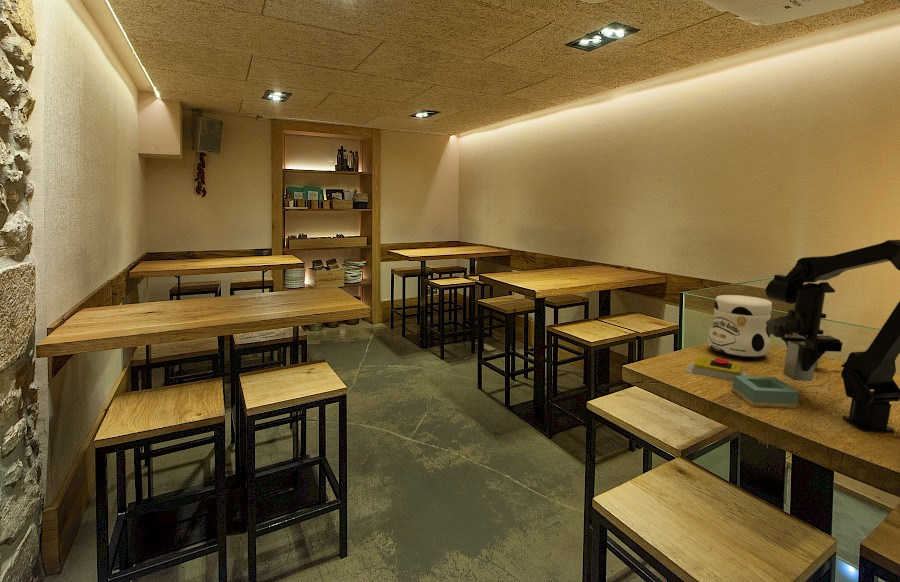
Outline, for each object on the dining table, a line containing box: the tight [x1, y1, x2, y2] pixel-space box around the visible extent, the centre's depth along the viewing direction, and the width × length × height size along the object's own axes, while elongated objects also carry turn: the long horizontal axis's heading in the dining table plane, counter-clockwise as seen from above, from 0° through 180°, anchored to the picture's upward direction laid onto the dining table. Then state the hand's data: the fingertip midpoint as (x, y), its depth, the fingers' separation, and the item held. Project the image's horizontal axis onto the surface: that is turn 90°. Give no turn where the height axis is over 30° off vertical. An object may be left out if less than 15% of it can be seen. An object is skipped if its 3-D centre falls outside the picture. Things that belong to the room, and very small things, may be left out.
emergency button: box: [684, 356, 748, 382], centre depth 137 cm, size 9×4×15 cm
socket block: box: [731, 375, 800, 409], centre depth 119 cm, size 10×10×4 cm
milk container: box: [707, 294, 773, 359], centre depth 154 cm, size 17×17×18 cm
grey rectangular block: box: [782, 341, 815, 382], centre depth 121 cm, size 4×4×9 cm
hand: (799, 367), depth 122 cm, fingers closed on grey rectangular block, 4 cm apart
